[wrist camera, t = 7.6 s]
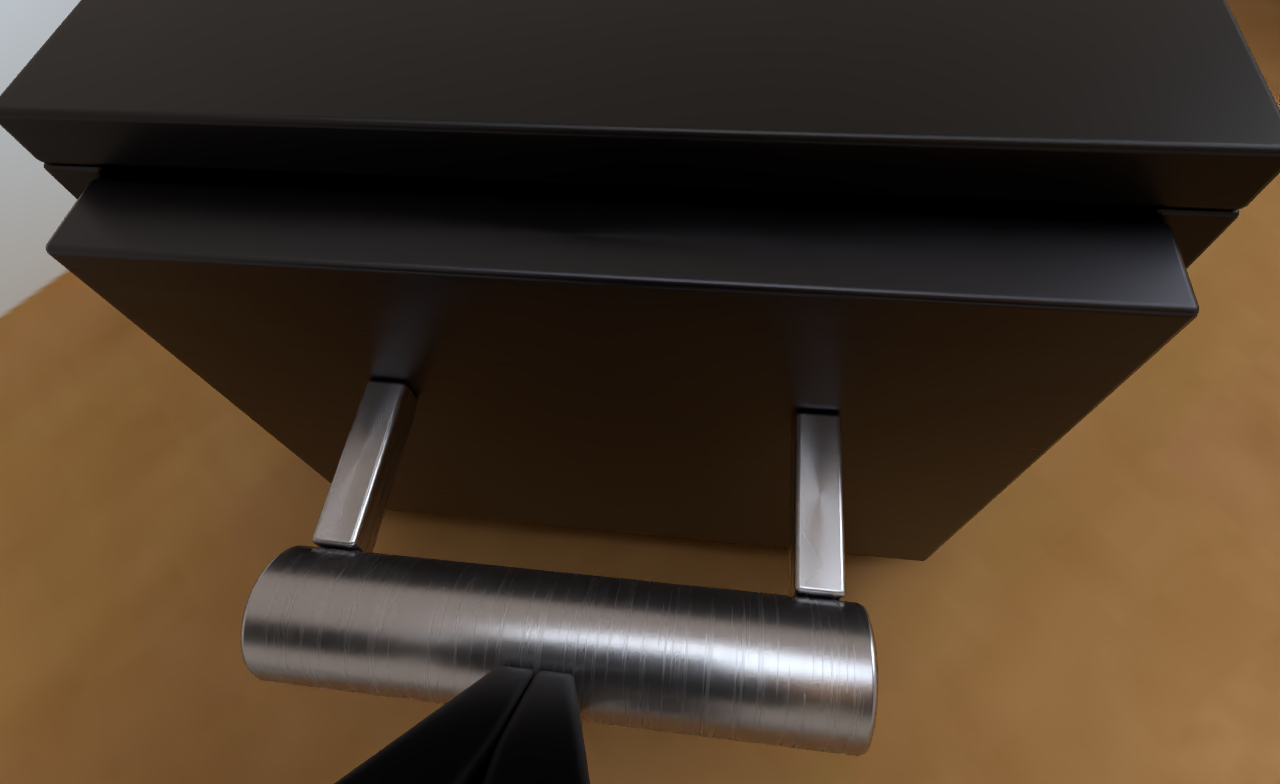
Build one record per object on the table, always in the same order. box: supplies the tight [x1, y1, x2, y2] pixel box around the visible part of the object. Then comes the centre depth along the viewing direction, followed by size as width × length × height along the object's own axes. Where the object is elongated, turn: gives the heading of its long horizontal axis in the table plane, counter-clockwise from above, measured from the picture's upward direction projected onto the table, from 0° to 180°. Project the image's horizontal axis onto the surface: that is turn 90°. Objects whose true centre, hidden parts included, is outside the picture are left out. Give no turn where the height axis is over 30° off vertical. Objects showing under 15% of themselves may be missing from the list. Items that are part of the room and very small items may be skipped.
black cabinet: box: [0, 0, 1280, 269], centre depth 15 cm, size 16×14×11 cm
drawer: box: [46, 171, 1199, 756], centre depth 14 cm, size 18×12×9 cm
